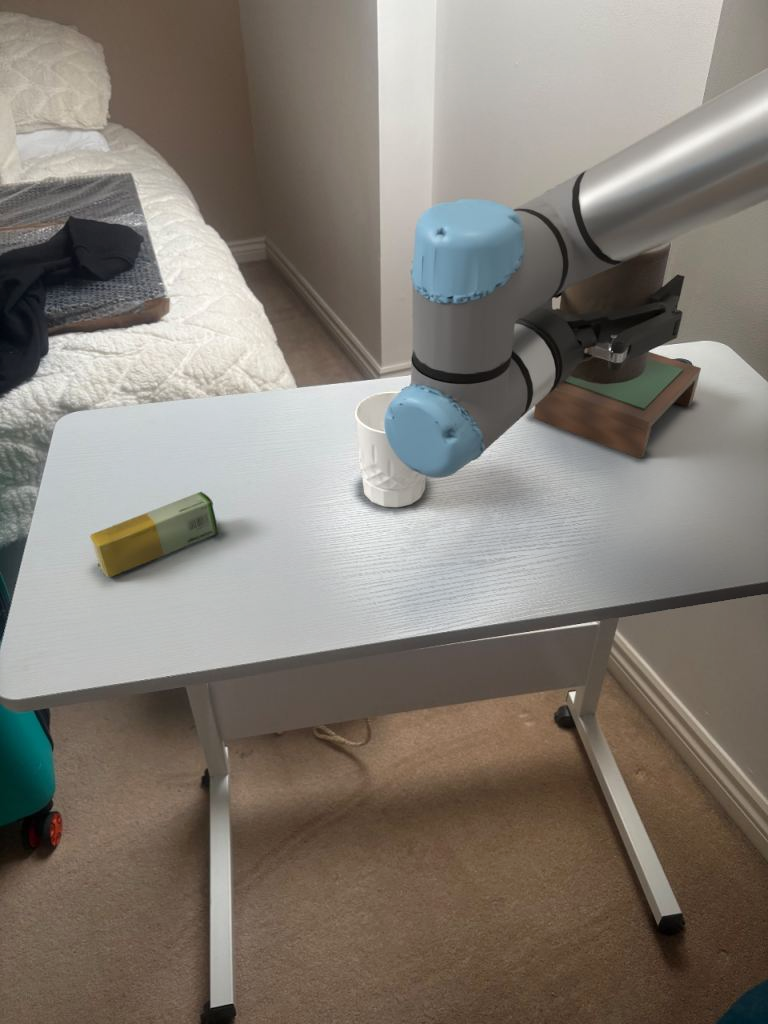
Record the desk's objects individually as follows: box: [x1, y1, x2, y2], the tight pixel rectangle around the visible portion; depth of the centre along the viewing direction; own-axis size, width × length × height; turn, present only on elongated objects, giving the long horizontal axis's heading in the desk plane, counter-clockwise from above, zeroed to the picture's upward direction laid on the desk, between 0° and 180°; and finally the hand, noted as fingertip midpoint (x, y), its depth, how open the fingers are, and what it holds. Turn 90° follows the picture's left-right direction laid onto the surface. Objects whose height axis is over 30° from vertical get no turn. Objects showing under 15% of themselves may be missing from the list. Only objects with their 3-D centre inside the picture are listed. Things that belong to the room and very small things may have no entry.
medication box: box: [89, 491, 220, 578], centre depth 82 cm, size 12×3×4 cm, turn 126°
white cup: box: [354, 391, 427, 508], centre depth 88 cm, size 8×8×10 cm
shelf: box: [533, 351, 702, 459], centre depth 100 cm, size 14×15×7 cm
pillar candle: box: [559, 241, 673, 384], centre depth 83 cm, size 10×10×15 cm
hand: (630, 275), depth 86 cm, fingers closed on pillar candle, 10 cm apart
